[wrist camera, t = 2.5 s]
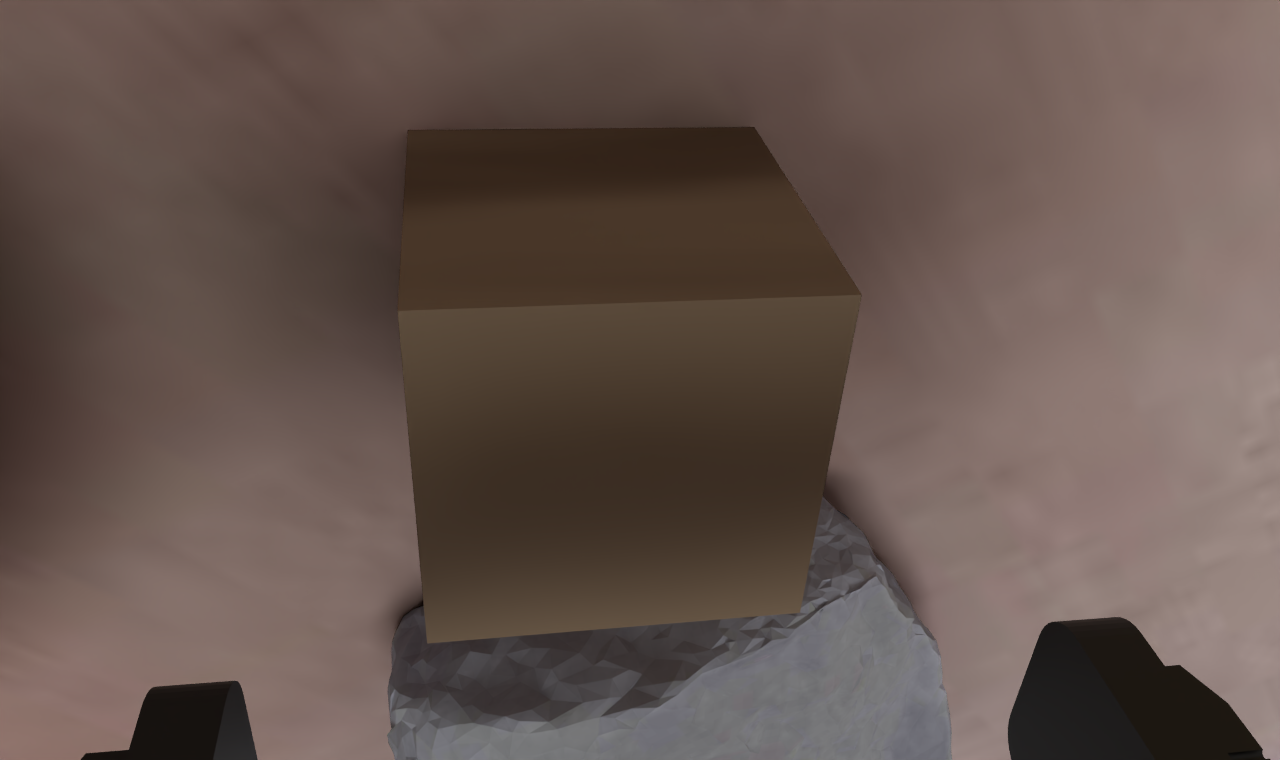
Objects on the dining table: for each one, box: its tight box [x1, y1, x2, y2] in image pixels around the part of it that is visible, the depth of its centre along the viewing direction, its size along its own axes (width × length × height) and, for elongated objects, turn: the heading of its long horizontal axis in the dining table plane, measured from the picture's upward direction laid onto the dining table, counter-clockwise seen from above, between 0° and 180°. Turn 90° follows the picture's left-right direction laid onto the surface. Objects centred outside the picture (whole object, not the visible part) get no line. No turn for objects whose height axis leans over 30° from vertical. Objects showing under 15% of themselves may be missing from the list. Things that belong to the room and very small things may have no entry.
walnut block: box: [397, 127, 862, 643], centre depth 15 cm, size 5×5×5 cm
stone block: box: [387, 497, 952, 760], centre depth 22 cm, size 12×5×10 cm
